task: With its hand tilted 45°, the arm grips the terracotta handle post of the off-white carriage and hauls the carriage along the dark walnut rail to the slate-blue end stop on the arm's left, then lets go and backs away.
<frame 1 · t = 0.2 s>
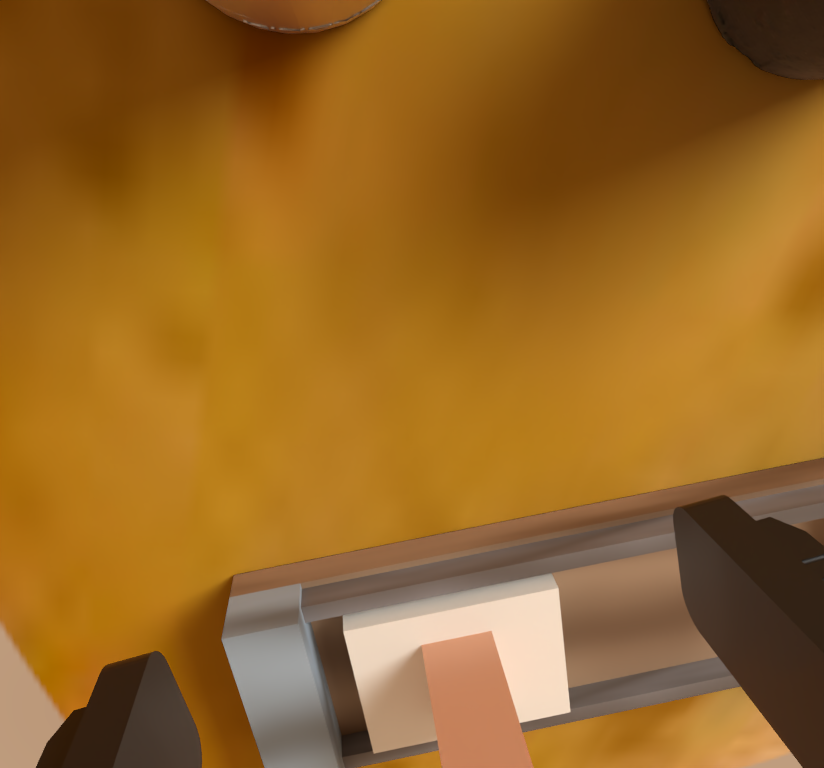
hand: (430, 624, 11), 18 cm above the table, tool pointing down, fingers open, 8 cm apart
rail: (575, 597, 34), on the table
carriage: (474, 724, 28), point 6 cm above the table, slide at -6.0 cm
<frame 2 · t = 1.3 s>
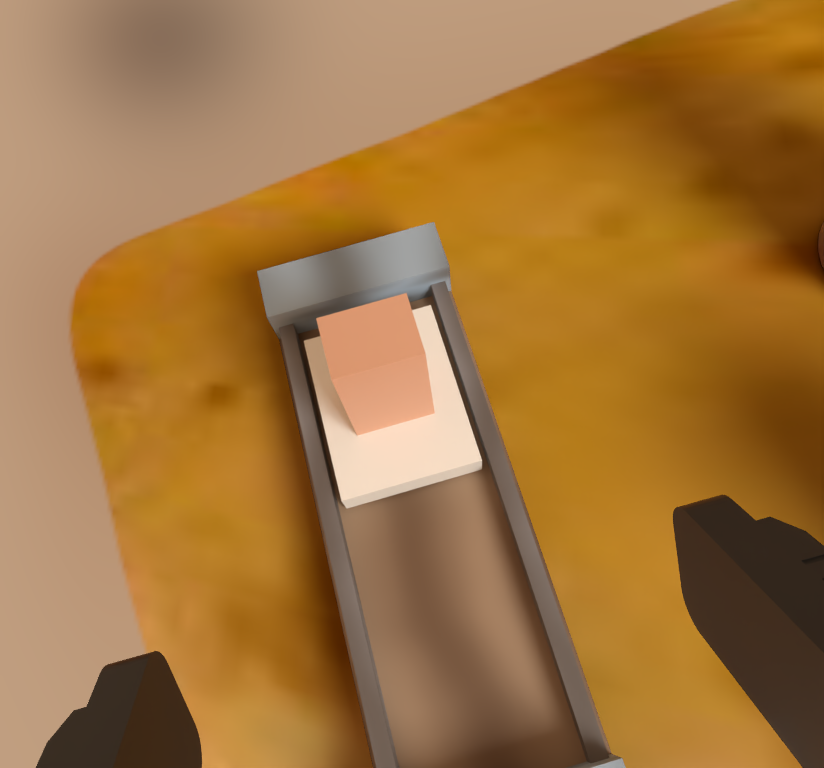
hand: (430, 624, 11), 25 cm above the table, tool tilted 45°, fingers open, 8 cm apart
rail: (425, 525, 37), on the table
carriage: (382, 376, 34), point 6 cm above the table, slide at -6.0 cm
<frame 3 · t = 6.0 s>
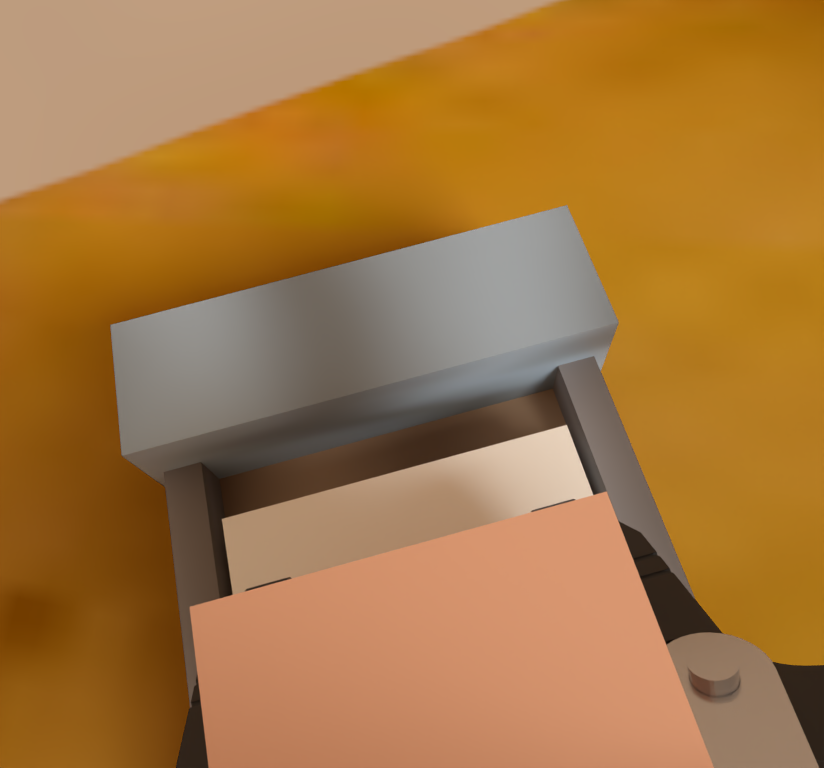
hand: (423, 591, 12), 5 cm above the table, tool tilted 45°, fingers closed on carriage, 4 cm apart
carriage: (455, 717, 10), point 6 cm above the table, slide at -6.0 cm, touching gripper
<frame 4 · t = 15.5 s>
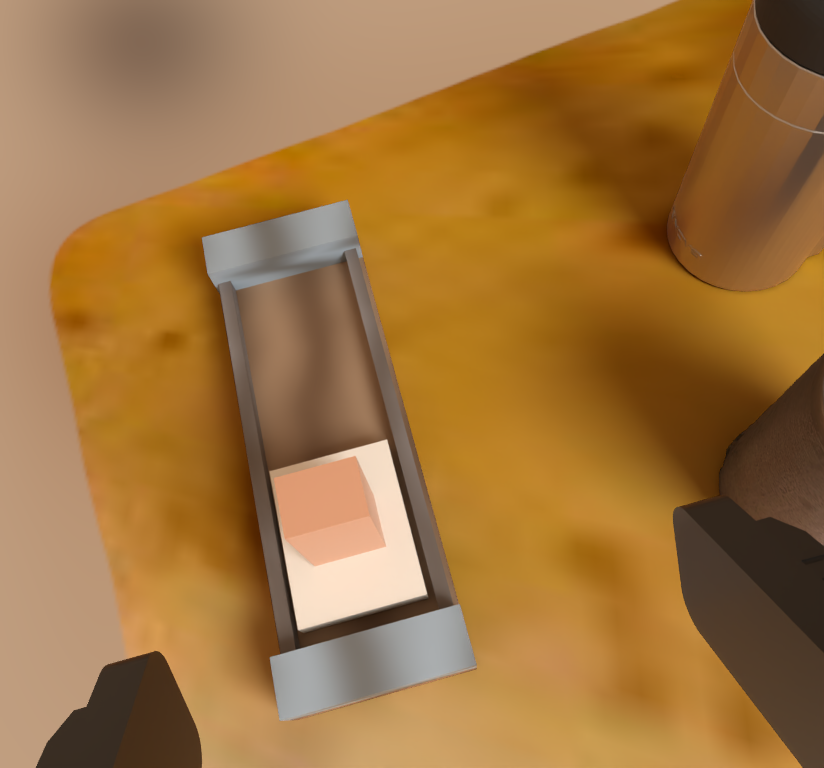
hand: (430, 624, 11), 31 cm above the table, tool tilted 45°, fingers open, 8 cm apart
rail: (331, 443, 45), on the table
pillar candle: (804, 498, 42), on the table
carriage: (336, 518, 37), point 6 cm above the table, slide at 6.5 cm
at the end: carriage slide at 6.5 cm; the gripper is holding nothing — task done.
